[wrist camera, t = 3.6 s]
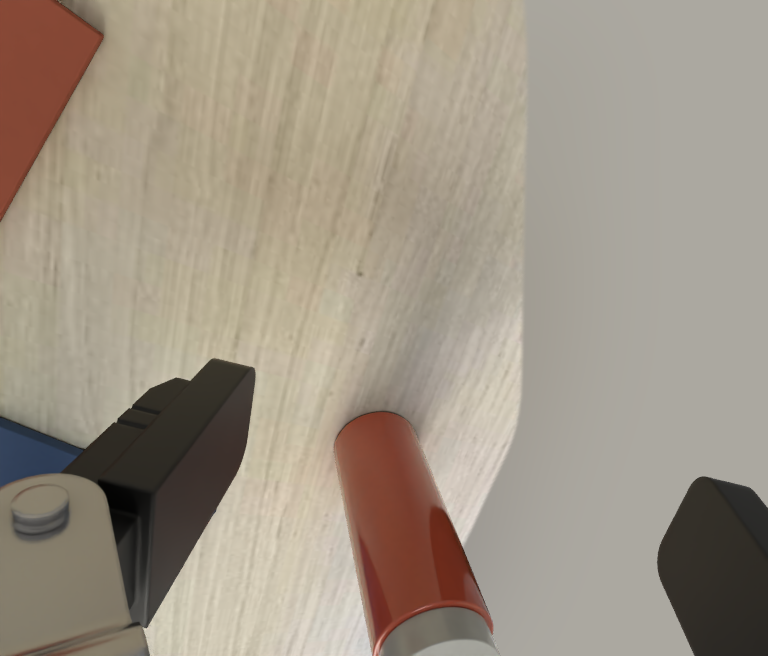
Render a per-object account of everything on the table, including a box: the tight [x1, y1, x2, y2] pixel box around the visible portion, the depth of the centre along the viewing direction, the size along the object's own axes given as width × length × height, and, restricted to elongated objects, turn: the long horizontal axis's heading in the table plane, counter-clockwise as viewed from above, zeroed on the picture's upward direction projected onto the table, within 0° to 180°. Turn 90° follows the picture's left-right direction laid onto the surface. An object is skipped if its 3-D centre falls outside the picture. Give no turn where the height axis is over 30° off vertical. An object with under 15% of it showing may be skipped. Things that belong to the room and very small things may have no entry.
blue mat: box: [0, 417, 216, 516], centre depth 27 cm, size 12×12×1 cm
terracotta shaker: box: [334, 412, 500, 656], centre depth 24 cm, size 4×4×12 cm
